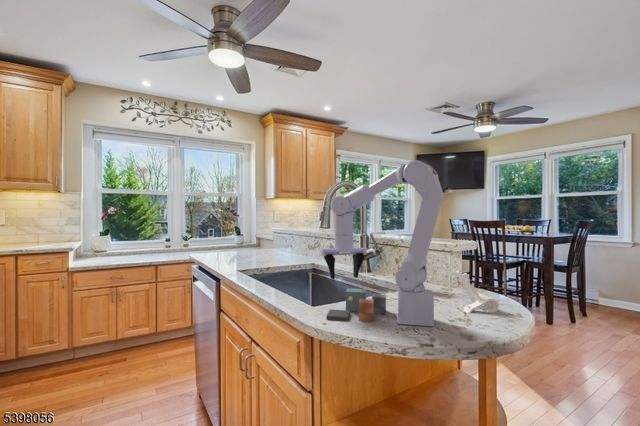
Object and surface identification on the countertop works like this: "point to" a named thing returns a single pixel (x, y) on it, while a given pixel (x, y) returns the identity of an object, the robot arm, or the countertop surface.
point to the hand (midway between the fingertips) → (344, 277)
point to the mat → (338, 315)
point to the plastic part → (477, 297)
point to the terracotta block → (366, 310)
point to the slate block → (379, 303)
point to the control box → (354, 298)
